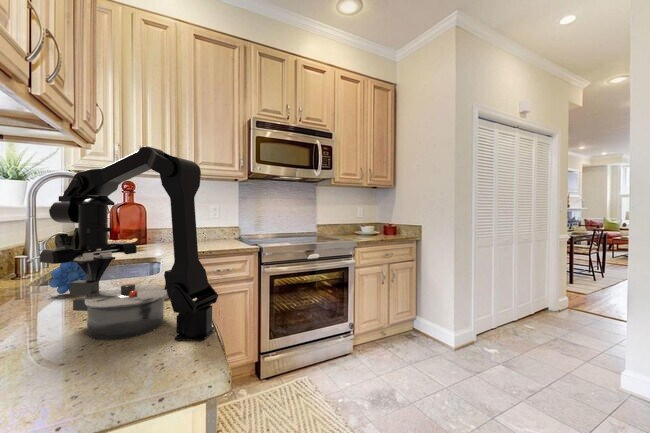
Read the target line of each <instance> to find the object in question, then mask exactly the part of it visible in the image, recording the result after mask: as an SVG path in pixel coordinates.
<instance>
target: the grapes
mask: <svg viewBox="0 0 650 433" xmlns="http://www.w3.org/2000/svg"><path fill="white" fill-rule="evenodd" d="M50 277H51V278H53V279H52V280H51V281H50V282H49V287H51V288H52V289H53V288H54V289H55V288H57V289H56V293H58V294H59V295H60V294H66V293H68V292H69V293H70V282H74V281H78V280H87V278H86V276H85V274H84V272H83V270H82V269H81V267H80V266H79V265H78V264H77V263H74V262H67V263H59V268H55V269H52V271H51V272H50Z"/></svg>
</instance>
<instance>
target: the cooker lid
mask: <svg viewBox="0 0 650 433" xmlns="http://www.w3.org/2000/svg"><path fill="white" fill-rule="evenodd" d="M157 285H158V284H140V285H139V284H133V283H129V284H128V283H126V284H123V285H121V286H116V287H111V288H106V289H101V290H100V281H89V280H78V281H74V282H70V292H69V296H80V297H83V296H86V297H85V305H86V306H89V307H93V308H120V307H128V306H135V305H140V304H145V303H149V302H152V301H156V300H158V299H161V298H162V297H164V296H165V295H166V290H164V289H165V287H162V286H163V285H162V286H157Z"/></svg>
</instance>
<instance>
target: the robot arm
mask: <svg viewBox="0 0 650 433" xmlns="http://www.w3.org/2000/svg"><path fill="white" fill-rule="evenodd" d="M151 170H152V171H153V172H156V173H157V174H159V178H160V182H161V186H162V188H163V189H164V191H165V192H166V193H167V196H168V197H169V200H170V214H171V216H170V217H171V228H172V229H171V230H172V232H171V233H172V244H173V258H174V260H173V263H172V267H171V269H168V270H165V271H164V275H163V276H164V282H165V284H164V285H165V289H164V290H167V294H168V297H169V300H170V304H171V307H172V311H173V313H176V314H177V313H178V314H177V315H176V324H175V325H176V331H175V332H176V333H175V334H176V335H175V336H174V340H175V341H195V342H196V341H197V342H198V341H199V342H201V341H202V342H203V341H205V340H206V339H207V338H209V336H210V335H211V334H212V333H213V332H214V331H215V330H216V328H215V326H213V304H216V303H217V300H218V297H219V293H217V291H216V289H215V288H214V287H213V286H212V285H211V284H210V282H209V280H208V275H207V270H206V268H205V267H204V266H203V264H202V263H201V261H200V259H199V250H198V248H199V247H198V233H197V220H196V218H197V216H196V205H195V204H196V203H195V198H196V194H197V192H198V191H199V188H200V184H201V177H202V176H201V175H202V173H201V172H202V170H201V167H200V166H199V165H198V163H196V162H194V161H192V160H188V159H185V158H181V157H177V156H175V155H174V156H173V155H171V154H168V153H166V152H164V151H163V150H161V149H158V148H154V147H151V146H147V145H146V146H141V147H140V148H139V149H138V150H137V151H135V152H133V153H131V154H129V155H126V156H125V157H123V158H121V159H119V160H116V161H114V162H113V163H110V164H108V165H106V166H105V167H100V168H99V167H98V168H89V169H88V168H87V169H85V170H82V171H81V170H80V171H78V172H77V173H75V174H74V176H73V178H71V181H70V183H69V184H68V186H67V187H66V189H65V190H64V191H63V195H59V196H58V200H56V201H54V203H52V205H51V206H50V208H49V210H48V213H49V217H50V218H51V219H52V220H53V221H54V222H57V223H60V224H61V223H62V224H67V223H68V224H77V225H78V227H75V228H74V229H73V230H74V231H73V232H74V233H73V235H72V234H71V235H69V234H68V233H57V234H56V235H55V236H54V245H55V248H47V249H45V248H44V249H43V250H41V252H40V254H39V263H45V264H51V265H60V264H61V263H67V262H74V263H77V264H78V265H79V266H80V267H81V269H82V270H83V272H84V274H85V276H86V278H87V280H89V281H99V282H100V281H101V279H102V278H103V275H104V273H105V272H106V271H107V268H108V267H109V265H110V264H111V262H112V261H113V260H116V256H113V254H114V253H115V254H116V253H123V254H124V255H133V254H137V253H138V250H137V249H138V248H137V247H138V246H137V245H136V244H135V242H125V241H124V242H122V241H121V242H112V243H108V242H109V238H108V237H109V236H108V234H109V232H110V233H111V232H112V227H108V225H109V224H108V223H109V222H108V221H109V220H108V219H109V217H108V216H109V215H108V214H109V213H108V212H109V211H108V210H109V209H108V208H109V206H115V202H114V201H113V200H112V199H111V198H109V197H108V196H110V195H111V194H113V193H115V192H116V191H117V190H118V188H119V185H121V184H122V183H125V182H126V181H129V180H130V179H133V178H135V177H137V176H139V175H141V174H143V173H145V172H148V171H151ZM194 299H195V300H194Z"/></svg>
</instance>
